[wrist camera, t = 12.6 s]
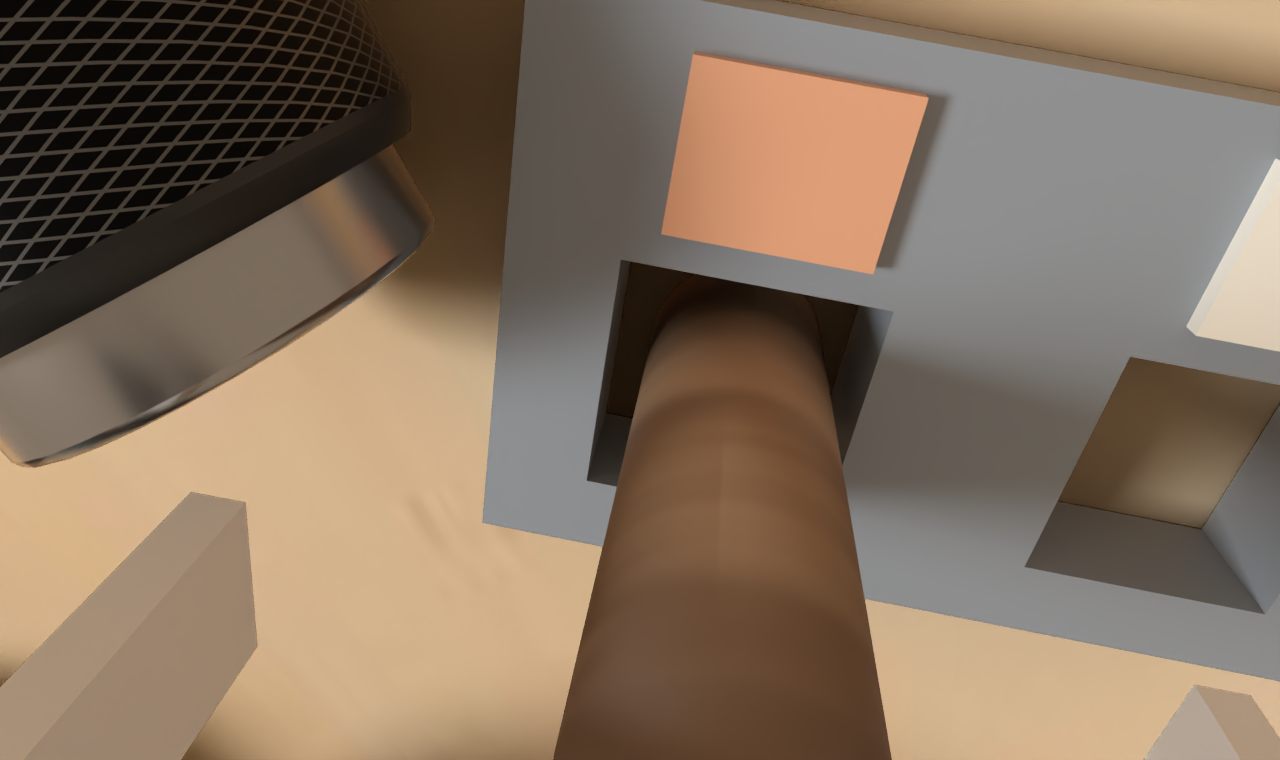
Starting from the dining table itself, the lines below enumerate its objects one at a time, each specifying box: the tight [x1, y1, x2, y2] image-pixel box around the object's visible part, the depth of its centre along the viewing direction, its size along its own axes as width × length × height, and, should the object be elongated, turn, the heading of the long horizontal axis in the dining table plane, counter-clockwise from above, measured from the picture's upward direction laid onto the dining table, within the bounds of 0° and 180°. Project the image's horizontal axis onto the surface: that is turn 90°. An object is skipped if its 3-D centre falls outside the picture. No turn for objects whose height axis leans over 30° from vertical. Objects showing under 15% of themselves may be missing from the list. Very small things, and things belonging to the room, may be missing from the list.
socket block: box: [482, 0, 1280, 681], centre depth 18 cm, size 12×20×3 cm, turn 81°
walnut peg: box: [554, 274, 892, 760], centre depth 15 cm, size 4×4×12 cm
